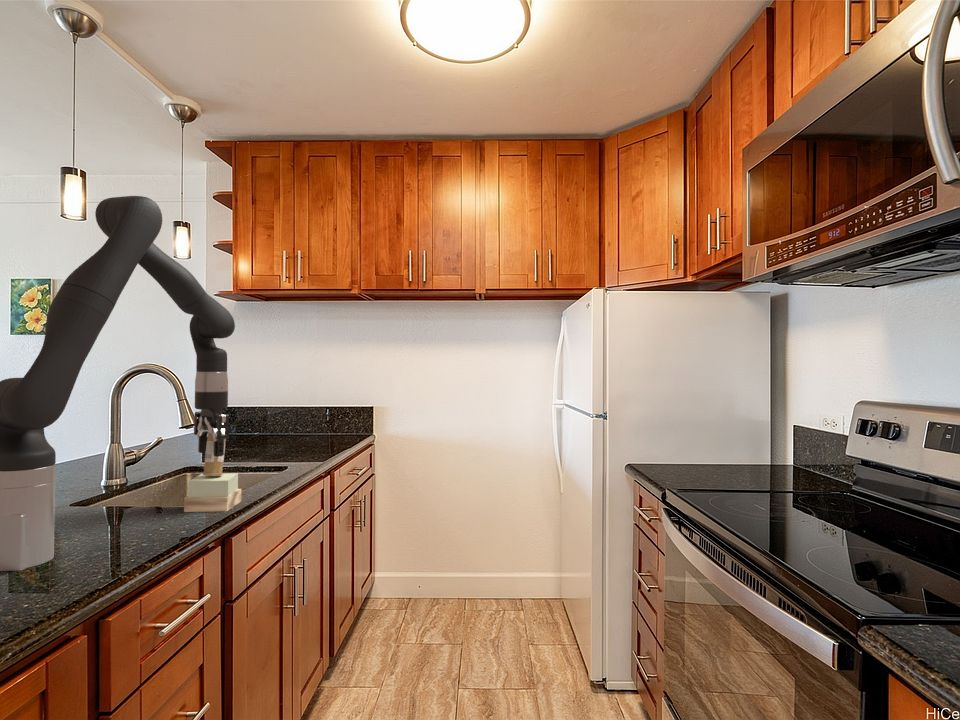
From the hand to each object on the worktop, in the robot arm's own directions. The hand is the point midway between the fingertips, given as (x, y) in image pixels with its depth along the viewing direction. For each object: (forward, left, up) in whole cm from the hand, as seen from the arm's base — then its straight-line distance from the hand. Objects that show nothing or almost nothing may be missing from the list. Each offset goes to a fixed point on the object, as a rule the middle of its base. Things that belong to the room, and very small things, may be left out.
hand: (210, 454), depth 139 cm
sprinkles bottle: (0, -1, -6) cm, 6 cm away
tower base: (0, -1, -14) cm, 14 cm away
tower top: (0, -1, -10) cm, 10 cm away
